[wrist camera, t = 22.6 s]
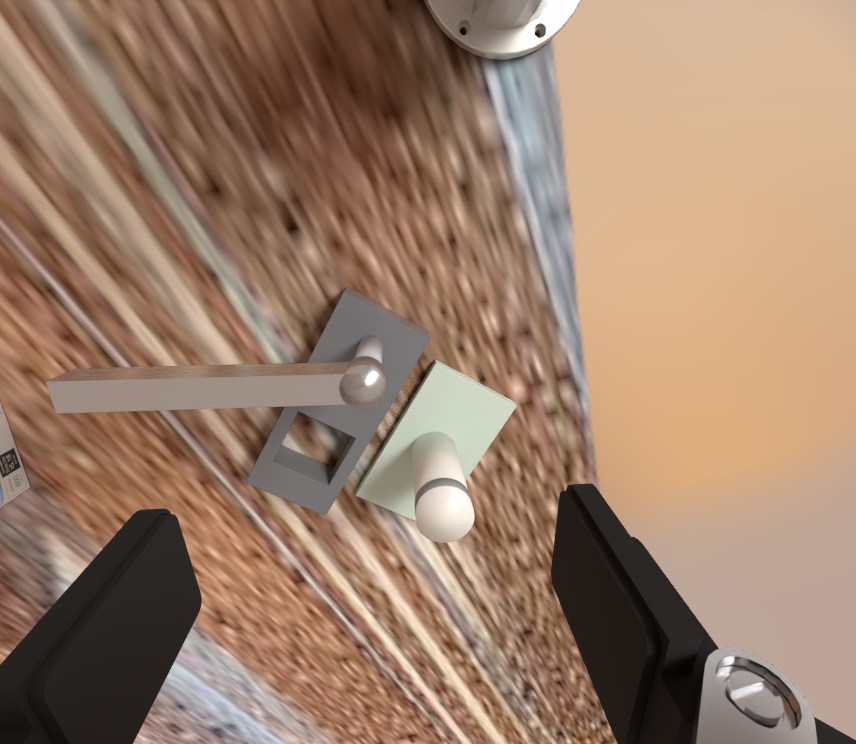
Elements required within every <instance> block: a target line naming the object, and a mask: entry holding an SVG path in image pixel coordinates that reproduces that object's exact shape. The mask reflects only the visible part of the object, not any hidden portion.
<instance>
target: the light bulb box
mask: <svg viewBox="0 0 856 744" xmlns="http://www.w3.org/2000/svg"><path fill="white" fill-rule="evenodd" d="M29 488H30V484H29V482H28V479H27V476H26V473H25V470H24V467H23V464H22V461H21V459H20V456H19V453H18V450H17V447H16V445H15V442H14V439H13V436H12V433H11V430H10V427H9V424H8V421H7V419H6V416H5V413H4V410H3V407H2V404H1V402H0V508H1V507H2V506H4V505H5V504H7V503H8V502H10V501H11V500H13V499H14V498H16V497H17V496H19V495H20V494H22V493H23V492H24V491H26V490H27V489H29Z"/></svg>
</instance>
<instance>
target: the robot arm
mask: <svg viewBox="0 0 856 744" xmlns="http://www.w3.org/2000/svg"><path fill="white" fill-rule="evenodd" d="M424 1H425V4H426V6H427V8H428V10H429V11H430V13H431V15H432V17H433V19H434V20H435V22H436V23H437V24H438V26H439V27H440V28H441V29H442V31H443V32H444V33H445V34H446V35H447V36H448V37H449V38H450V39H451V40H452V41H454V42H455V43H456V44H457V45H458V46H460V47H461V48H463V49H465V50H467V51H469V52H471V53H472V54H474V55H477V56H481V57H485V58H488V59H503V60H507V59H512V58H517V57H522V56H524V55H527V54H529V53H531V52H533V51H536V50H538V49H539V48H540V47H542V46H543V45H545V44H546V43H547V42H549V41H550V40H551V39H552V38H553V37H554V36H555V35H556V34H557V33H558V32H559V31H560V30H561V29H562V28H563V27H564V26H565V24H566V23H567V21H568V20H569V19H570V18H571V16H572V15H573V14H574V12H575V11H576V9H577V7H578V5H579V3H580V2H581V0H424ZM462 29H463V30H465V32H466V35H462V34H461V33H460V30H462ZM535 33H538V34H539V38H538V37H536V35H535ZM551 578H552V583H553V587H554V589H555V592H556V594H557V597H558V599H559V602H560V604H561V607H562V609H563V612H564V614H565V617H566V619H567V621H568V624H569V626H570V629H571V631H572V634H573V636H574V639H575V641H576V644H577V646H578V648H579V651H580V653H581V656H582V658H583V661H584V663H585V666H586V668H587V671H588V673H589V675H590V678H591V680H592V683H593V685H594V688H595V690H596V693H597V695H598V698H599V700H600V703H601V705H602V707H603V710H604V712H605V715H606V717H607V720H608V722H609V725H610V727H611V730H612V732H613V734H614V737H615V739H616V741H617V742H618V744H856V740H854V739H852V738H851V737H849V736H847V735H845V734H843V733H842V732H840V731H838V730H836V729H834V728H833V727H831V726H829V725H827V724H826V723H824V722H822V721H820V720H818V719H816V718H815V717H814V716H813V713H812V709H811V706H810V704H809V703H808V701H807V699H806V698H805V696H804V695H803V693H802V692H801V690H800V689H799V688H798V687H797V686H796V685H795V684H794V682H793V681H792V680H791V679H790V678H789V677H788V676H786V675H785V674H784V673H783V672H781V671H780V670H779V669H778V668H777V667H775V666H774V665H773V664H771V663H769V662H768V661H766V660H764V659H762V658H761V657H759V656H757V655H755V654H752V653H749V652H747V651H744V650H741V649H733V648H724V649H719V648H718V647H717V646H716V644H715V643H714V641H713V640H712V639H711V637H710V636H709V635H708V633H707V632H706V630H705V629H704V628H703V626H702V625H701V624H700V622H699V621H698V619H697V618H696V617H695V615H694V614H693V613H692V611H691V610H690V609H689V607H688V606H687V604H686V603H685V602H684V600H683V599H682V597H681V596H680V595H679V593H678V592H677V591H676V589H675V588H674V586H673V585H672V584H671V583H670V581H669V580H668V578H667V577H666V575H665V574H664V573H663V571H662V570H661V569H660V567H659V566H658V565H657V563H656V562H655V560H654V559H653V558H652V556H651V555H650V554H649V552H648V551H647V549H646V548H645V547H644V546H643V544H642V543H641V542H640V541H639V540H638V539H636V538H635V537H631V536H630V535H629V534H628V532H627V531H626V529H625V528H624V526H623V525H622V524H621V522H620V521H619V519H618V518H617V517H616V515H615V514H614V513H613V511H612V510H611V508H610V507H609V505H608V504H607V502H606V501H605V500H604V498H603V497H602V495H601V494H600V493H599V491H598V490H597V488H596V487H595V486H594V485H593V484H574V485H568V487H567V489H566V491H562V492H561V493H560V498H559V506H558V515H557V524H556V533H555V542H554V550H553V559H552V568H551ZM201 599H202V598H201V593H200V590H199V587H198V583H197V580H196V577H195V574H194V570H193V567H192V564H191V561H190V557H189V554H188V551H187V548H186V544H185V541H184V538H183V535H182V531H181V528H180V525H179V522H178V519H177V517H176V516H175V515H173V514H171V513H170V511H168V510H167V509H149V510H140V511H137V512H136V513H135V514H134V515H133V516H132V517H131V518H130V519H129V520H128V521H127V522H126V524H125V525H124V526H123V527H122V528H121V529H120V530H119V531H118V533H117V534H116V535H115V536H114V537H113V538H112V539H111V541H110V542H109V543H108V544H107V545H106V546H105V547H104V548H103V550H102V551H101V552H100V553H99V554H98V555H97V556H96V557H95V559H94V560H93V561H92V562H91V563H90V564H89V565H88V566H87V568H86V569H85V570H84V571H83V572H82V573H81V574H80V576H79V577H78V578H77V579H76V580H75V581H74V582H73V583H72V585H71V586H70V587H69V588H68V589H67V590H66V591H65V592H64V594H63V595H62V596H61V597H60V598H59V599H58V600H57V602H56V603H55V604H54V605H53V606H52V607H51V608H50V609H49V611H48V612H47V613H46V614H45V615H44V616H43V617H42V618H41V620H40V621H39V622H38V623H37V624H36V625H35V626H34V627H33V629H32V630H31V631H30V632H29V633H28V634H27V635H26V637H25V638H24V639H23V640H22V641H21V642H20V643H19V644H18V646H17V647H16V648H15V649H14V650H13V651H12V652H11V653H10V655H9V656H8V657H7V658H6V659H5V660H4V661H3V663H2V664H1V665H0V744H133V742H134V740H135V738H136V736H137V734H138V732H139V730H140V728H141V726H142V724H143V722H144V720H145V718H146V716H147V715H148V713H149V711H150V709H151V707H152V705H153V703H154V701H155V699H156V697H157V695H158V693H159V691H160V689H161V687H162V685H163V683H164V681H165V679H166V677H167V675H168V673H169V671H170V669H171V667H172V665H173V663H174V661H175V659H176V657H177V655H178V653H179V651H180V649H181V647H182V645H183V643H184V641H185V639H186V637H187V635H188V633H189V631H190V629H191V627H192V625H193V623H194V621H195V619H196V617H197V615H198V613H199V611H200V607H201Z"/></svg>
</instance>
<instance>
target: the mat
mask: <svg viewBox="0 0 856 744" xmlns="http://www.w3.org/2000/svg"><path fill="white" fill-rule="evenodd" d="M516 406H517V405H516V404H515V402H514V401H512V400H510V399H508V398H506V397H504V396H502V395H501V394H499V393H497V392H495V391H493V390H491V389H489V388H488V387H486V386H484V385H482V384H480V383H478V382H476V381H475V380H473V379H471V378H469V377H467V376H465V375H463V374H462V373H460V372H458V371H456V370H454V369H452V368H450V367H449V366H447V365H445V364H443V363H441V362H439V361H437V360H436V359H435V361H434V363H433V364H432V366H431V368H430V369H429V371H428V372H427V374H426V376H425V377H424V379H423V381H422V382H421V384H420V386H419V387H418V389H417V391H416V392H415V394H414V396H413V397H412V399H411V401H410V402H409V404H408V406H407V407H406V409H405V410H404V412H403V414H402V415H401V417H400V419H399V420H398V422H397V424H396V425H395V427H394V429H393V430H392V432H391V434H390V435H389V437H388V439H387V440H386V442H385V444H384V445H383V447H382V449H381V450H380V452H379V453H378V455H377V457H376V458H375V460H374V462H373V463H372V465H371V467H370V468H369V470H368V472H367V473H366V475H365V477H364V478H363V480H362V482H361V483H360V485H359V487H358V488H357V491H356V496H358V497H360V498H363V499H365V500H367V501H370V502H372V503H374V504H377V505H379V506H381V507H384V508H386V509H388V510H391V511H393V512H395V513H398V514H400V515H402V516H405V517H407V518H409V519H412V520H414V521H416V516H415V505H414V502H415V496H414V482H413V468H412V454H411V451H412V446H413V444H414V442H415V441H416V439H417V438H418V437H420V436H421V435H423V434H425V433H427V432H433V431H437V432H442V433H445V434H446V435H448V436H449V437H450V438H451V439H452V440H453V441H454V443H455V446H456V450H457V453H458V457H459V460H460V464H461V467H462V471H463V475H464V478H465V481H466V479H467V478H468V476H469V475H470V473H471V472H472V470H473V469H474V468H475V466H476V465H477V463H478V462H479V460H480V459H481V457H482V456H483V454H484V453H485V451H486V450H487V449H488V447H489V446H490V444H491V443H492V441H493V440H494V438H495V437H496V435H497V434H498V433H499V431H500V430H501V428H502V427H503V425H504V424H505V422H506V421H507V419H508V418H509V417H510V415H511V414H512V412H513V411H514V409H515V408H516Z"/></svg>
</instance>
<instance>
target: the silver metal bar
mask: <svg viewBox="0 0 856 744" xmlns="http://www.w3.org/2000/svg"><path fill="white" fill-rule="evenodd" d="M46 385H47V388H48V391H49V394H50V397H51V400H52V403H53V406H54V409H55V412H56V413H88V412H121V411H153V410H186V409H219V408H251V407H284V406H316V405H349V406H350V407H352V408H354V409H358V410H367V409H371V408H373V407H375V406H377V405H378V404H379V403H380V402H381V401H382V399H383V397H384V394H385V385H386V372H385V369H384V367H383V365H382V364H381V363H380V362H379V361H378V360H377V359H375V358H373V357H369V356H360V357H356V358H354V359H353V360H351V361H350V362H333V363H290V364H248V365H205V366H163V367H120V368H77V369H74V370H72V371H69V372H67V373H65V374H62V375H60V376H58V377H55V378H53V379H51V380H48V381H46Z"/></svg>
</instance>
